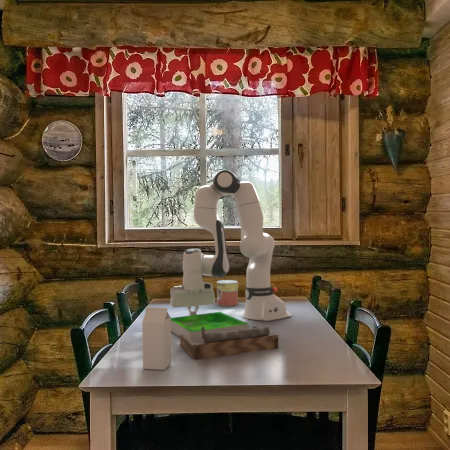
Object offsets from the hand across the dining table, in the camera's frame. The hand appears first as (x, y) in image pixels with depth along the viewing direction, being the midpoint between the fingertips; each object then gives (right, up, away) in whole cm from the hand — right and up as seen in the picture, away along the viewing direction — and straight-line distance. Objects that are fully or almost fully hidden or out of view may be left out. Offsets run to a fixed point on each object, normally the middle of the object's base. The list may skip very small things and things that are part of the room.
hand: (192, 315), depth 207 cm
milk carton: (-7, -5, -58) cm, 59 cm away
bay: (+16, -4, -38) cm, 41 cm away
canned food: (+16, -2, +38) cm, 42 cm away
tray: (+7, -4, -17) cm, 19 cm away
